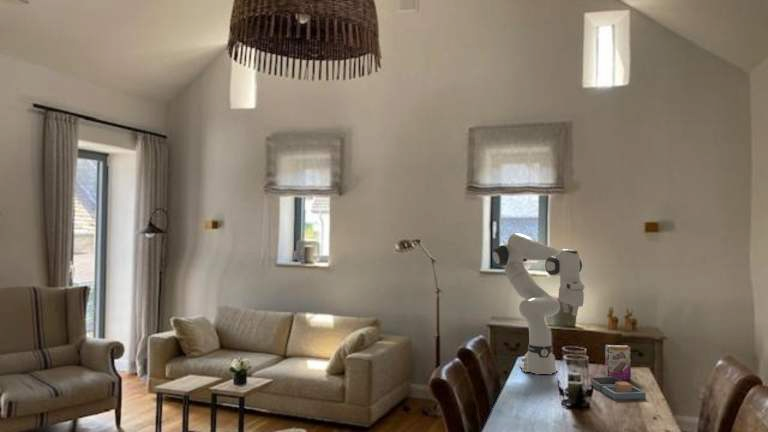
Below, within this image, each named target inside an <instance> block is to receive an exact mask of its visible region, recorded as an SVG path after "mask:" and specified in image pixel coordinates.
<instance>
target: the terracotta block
mask: <svg viewBox="0 0 768 432" xmlns="http://www.w3.org/2000/svg"><path fill="white" fill-rule="evenodd" d="M632 386H633V385H632V384H631V383H629V382H627V381H624V382H615V393H626V392H632Z"/></svg>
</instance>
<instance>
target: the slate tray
mask: <svg viewBox="0 0 768 432" xmlns="http://www.w3.org/2000/svg"><path fill="white" fill-rule="evenodd" d="M601 394H603V395H605V396H607V397H608V398H610V399H611V400H613V401H635V400H636V401H638V400H642V401H643V400H646V392H645V391H643V390H641V389H639V388H637V387H636V386H634V385H632V392H626V393H615V386H602V392H601Z"/></svg>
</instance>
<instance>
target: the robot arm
mask: <svg viewBox="0 0 768 432" xmlns="http://www.w3.org/2000/svg"><path fill="white" fill-rule="evenodd" d="M491 256H492V260H493V262H494V263H495V264H496V265H497V266H501V267H502V266H504V273H505V275H506V277H507V279H508V280H509V282H510V284H511V286H513V288H514V290H515V291H516V293H517V294H518V296H519V297H521V298H523V299H524V300H522V301H521V302H520V303H519V307H518V309H519V313H520V315H521V317H523V318H524V319H525V321H526V324H527V326H528V337H529V338H528V339H529V340H528V341H529V343H528V347H527V351H526V353H525V354H524V355H523V357H521V362H522V363H519V367H521V368H522V370H523V371H526V372H532V373H535V374H534V375H539V374H549V375H553V374H552V373H554V372H555V371H557V370H558V371H559V369H558V368H557V367H556V357H555V355H554V353H553V345H552V330H551V328H550V327H549V326H548V325H547V324H546V320H545V319H546V318H550V317H553V316H555V315H558V313H559V312H560V310H561V304H560V303H562V307H563V313H567V314H568V313H569V312H570V310H569V309H570V308H569V306H568V305H570V306H572V308H573V310H572V312H571V314H572V315H571V316H576V317H577V316H578V310H579V308H580V307H583V306H584V302H585V301H584V298H585V297H584V296H585V295H584V294H585V293H584V290H585V285H584V283H583V282H582V281H581V276H580V272H581V271H582V269H583V263H582V260H581V258H580V255H579V252H578V251H577V250H576V249H571V248H563V249H561V250H560V251H559V250H558V249H556V248H553V247H550V246H549V245H546V244H544V243H542V242H540V241H537V240H536V239H534V238H531V237H529V236H527V235H525V234H522V233H518V232H516V233H512V234H511V235H510V236H509V238H508V240H507V243H505V244H501V245H499V246H496V247H495V248H494V249H493V251H492V254H491ZM528 260H529V261H545V263H544V267H545V271H546V273H547V274H548V275H550V276H554V277H556V276H560V277H559V281H560V283H559V284H560V286H559V287H558V298H556V297H554V296H552V295H550V294H549V293H548V292H547V291H545V290H544V289H543V288H541V287H540V286H539V285H538V283H536V281H535V279H534V278H533V277H532V275H531V274H530V273H529V271H528V270H527V268H525V266H524V262H527V261H528ZM521 368H520V369H521ZM522 370H521V371H522ZM523 371H522V372H523ZM532 373H531V374H532ZM555 373H556V372H555ZM555 373H554V374H555Z"/></svg>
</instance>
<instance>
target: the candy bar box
mask: <svg viewBox="0 0 768 432" xmlns="http://www.w3.org/2000/svg"><path fill="white" fill-rule="evenodd" d="M631 349H632V348H631V347H630V346H629V345H616V344H615V345H614V344H605V349H604V351H605V352H604V353H605V354H604V355H605V359H604V360H605V363H604V365H605V366H604V367H605V369H604V372H605V376H604V377H617V378H618V379H620V380H622V381H631V377H632V376H631V368H632V367H631V364H632V363H631V357H632V356H631V355H632V354H631V351H632V350H631Z"/></svg>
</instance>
